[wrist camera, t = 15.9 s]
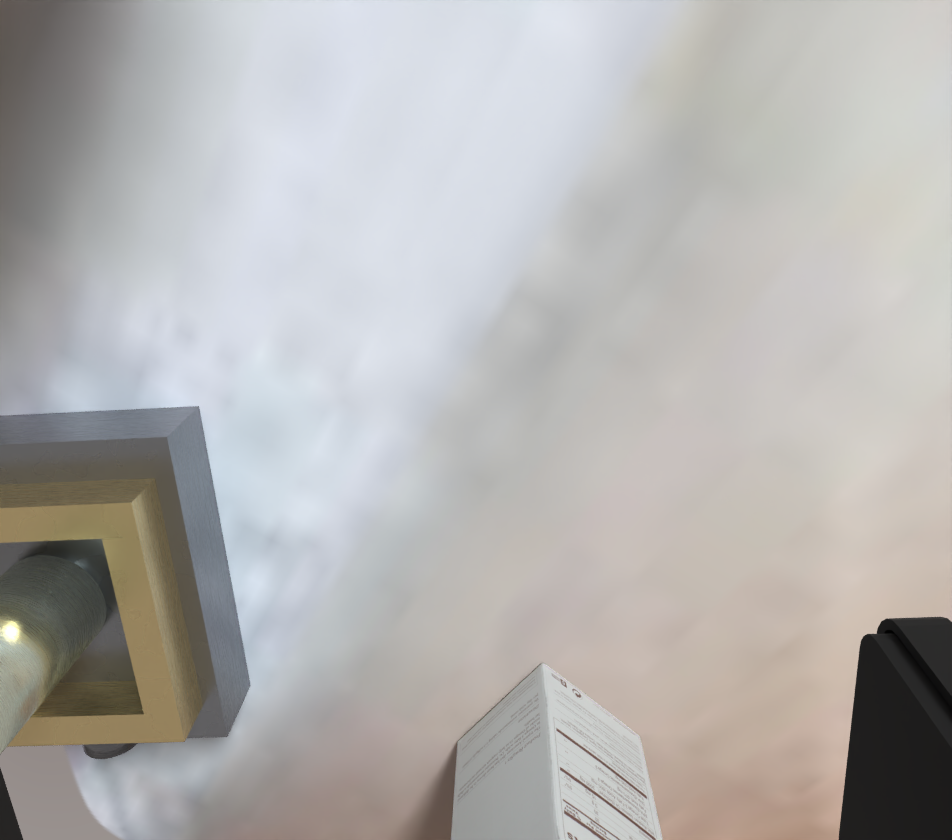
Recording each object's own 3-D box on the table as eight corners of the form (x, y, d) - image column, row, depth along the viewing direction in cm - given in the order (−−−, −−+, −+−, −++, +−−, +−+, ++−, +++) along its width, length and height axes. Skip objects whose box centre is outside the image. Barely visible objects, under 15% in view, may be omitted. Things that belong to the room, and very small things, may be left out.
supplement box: (552, 811, 48) (567, 1041, 36) (453, 739, 46) (435, 954, 35) (645, 734, 46) (693, 951, 34) (545, 656, 44) (559, 854, 32)
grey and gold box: (-84, 420, 41) (-188, 474, 35) (198, 406, 40) (143, 459, 34) (7, 716, 47) (-68, 807, 41) (254, 709, 46) (216, 800, 40)
